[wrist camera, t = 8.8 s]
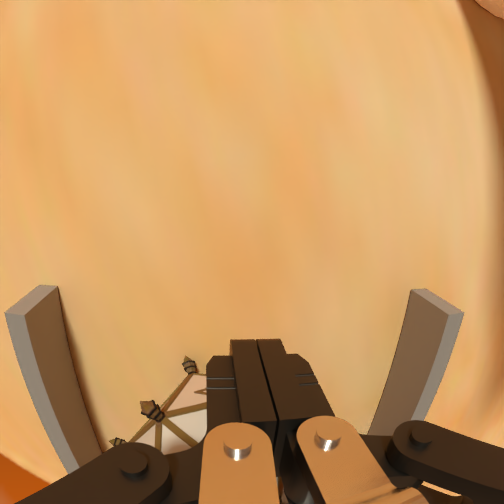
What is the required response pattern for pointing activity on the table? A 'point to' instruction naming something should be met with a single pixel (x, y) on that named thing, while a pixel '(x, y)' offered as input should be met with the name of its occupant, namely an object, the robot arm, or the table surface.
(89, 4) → the table surface
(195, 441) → the game die
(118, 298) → the table surface
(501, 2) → the bottle
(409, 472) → the robot arm
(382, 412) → the bay
